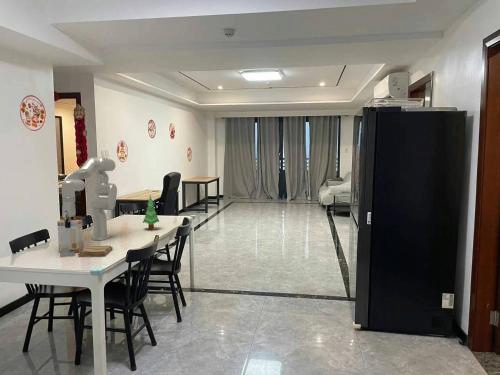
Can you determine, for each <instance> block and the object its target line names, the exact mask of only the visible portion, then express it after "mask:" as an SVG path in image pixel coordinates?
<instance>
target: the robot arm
mask: <svg viewBox="0 0 500 375" xmlns="http://www.w3.org/2000/svg"><path fill="white" fill-rule="evenodd" d="M116 166H117V164H116V162H115V160H113V159H110V158H107V157H95V156H94V157H92V156H91V157H89V158H88V159H86V161H85V162H84V163H83V164H82V166H81V167H80V168H79V169H76V170H75V171H73V172H70V173H68V175H66V177H65V178H64V179H63V181H62V182H61V197H62V198H61V199H62V207H61V209H62V212H61V214H62V215H61V216H62V218H63V220H65V221H64V222H65V228H70V220H76V214H77V213H76V212H77V210H76V203H75V202H76V192H80V191H83V190H85V187H86V182H85V181H84V180H85V179H86V180H87V179H89V178H91V177H92V175H93V174H94V172H95V174H96V181H95V188H94V193H95V195H97V196H96V197H93V198H91V200H90V206H91V207H90V208H91V211H92V228H93V230H92V231H93V236H92V237H91V240H93V241H104V240H108V239H109V238H110V235H108V227H107V226H108V224H107V222H108V221H107V214H106V211H111V210H114V209H115V207H116V201H117V196H118V188H117V185H116V184H115V183H109V180H110V178H109V175H108V173H107V172H113V171H114V170H115V169H116ZM100 196H101V197H100Z"/></svg>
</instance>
